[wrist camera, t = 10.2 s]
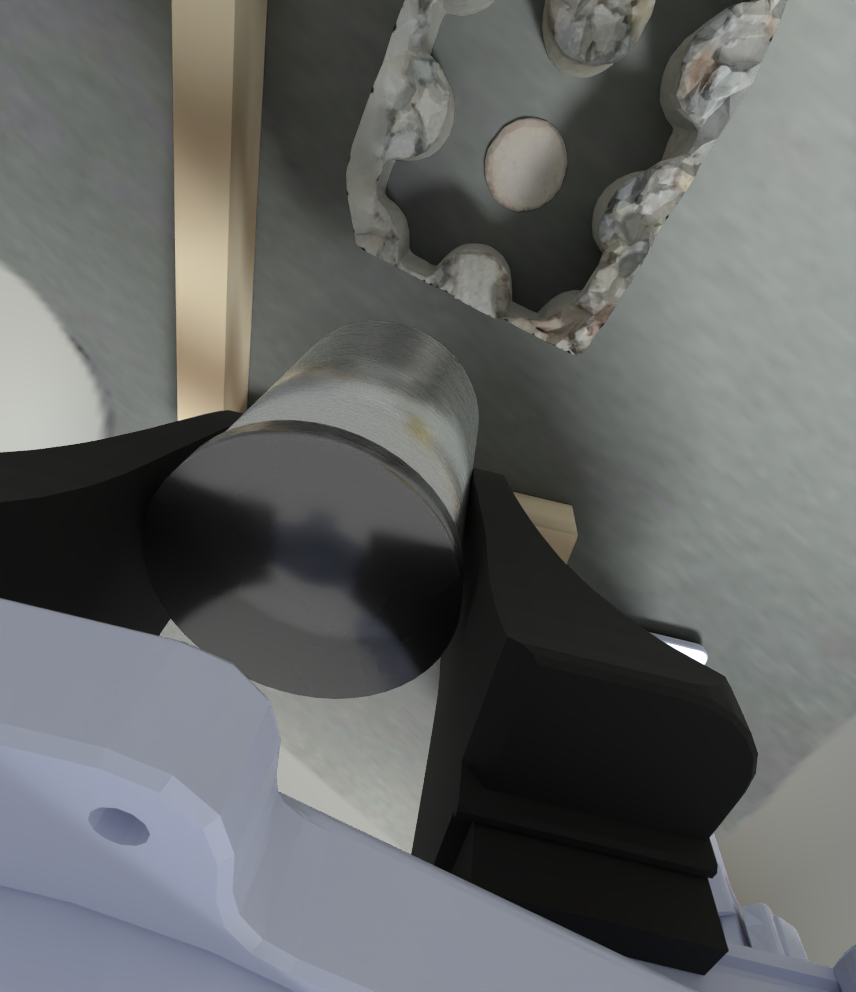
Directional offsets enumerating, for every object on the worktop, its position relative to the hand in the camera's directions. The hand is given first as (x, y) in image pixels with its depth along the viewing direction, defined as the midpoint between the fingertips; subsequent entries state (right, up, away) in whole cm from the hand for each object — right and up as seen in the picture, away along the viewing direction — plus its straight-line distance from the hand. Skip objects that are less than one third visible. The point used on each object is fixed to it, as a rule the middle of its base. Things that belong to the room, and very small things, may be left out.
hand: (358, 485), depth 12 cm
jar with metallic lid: (0, +2, +1) cm, 2 cm away
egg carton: (+5, +10, +4) cm, 12 cm away
